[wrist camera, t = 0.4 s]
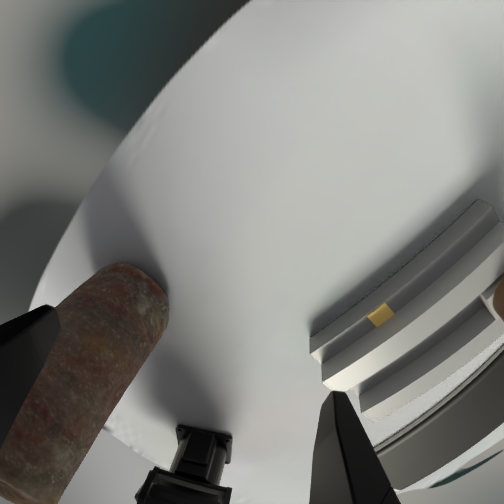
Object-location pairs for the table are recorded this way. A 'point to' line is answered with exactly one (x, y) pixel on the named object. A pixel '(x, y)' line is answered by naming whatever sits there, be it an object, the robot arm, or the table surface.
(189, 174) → the table surface
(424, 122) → the table surface
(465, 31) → the table surface
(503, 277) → the lever
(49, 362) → the candle
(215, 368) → the table surface
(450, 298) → the slider console
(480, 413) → the smartphone
